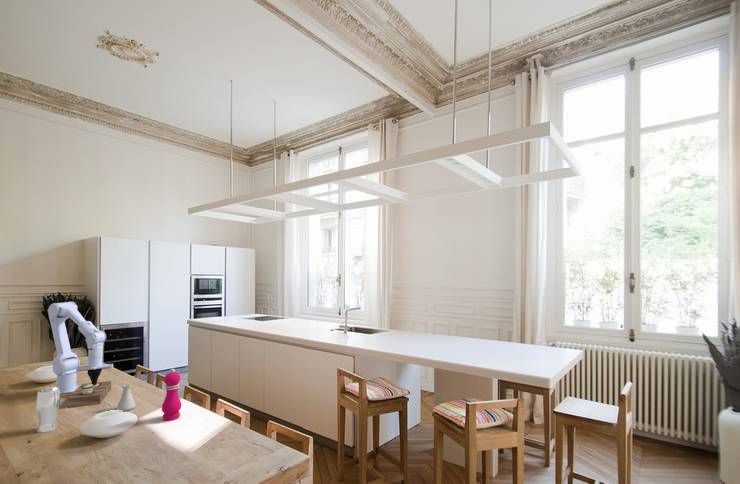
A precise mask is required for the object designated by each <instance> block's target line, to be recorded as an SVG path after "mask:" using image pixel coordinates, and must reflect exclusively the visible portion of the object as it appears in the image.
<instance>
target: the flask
mask: <svg viewBox="0 0 740 484" xmlns="http://www.w3.org/2000/svg"><path fill="white" fill-rule="evenodd" d="M121 387H122V394H121V396H120V397H121V398H120V400H119V402H118V403H117V407H116V409H118V410H124V411H123V412H127V411H132V410H134V409H135V408H136V407H137V404H136V402H135V399H134V397H133V395H132V394H133V393H132V389H131V387H132V384H125V385H123V386H121Z"/></svg>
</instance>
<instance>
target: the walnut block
mask: <svg viewBox="0 0 740 484" xmlns="http://www.w3.org/2000/svg"><path fill="white" fill-rule="evenodd" d="M87 384H92V382H89V383H82V384H81V385H79V387H78V388H77V389H76V390H75V391H74V392H72V394H71V395H70V396H69V397H68V398H67V406H66V408H67V409H71V408H79V407H86V406H88V407H89V406H95V405H96V406H97V405H100V404H101V403H102V402H103V401H104V400H105V399H106V396H107V395H108V393H109V392H110V391H111V390H112V380H109V381H108V380H107V381H97V384H100V386H98V387H93V393H92V394H90V395H82V386H83V385H87Z"/></svg>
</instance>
